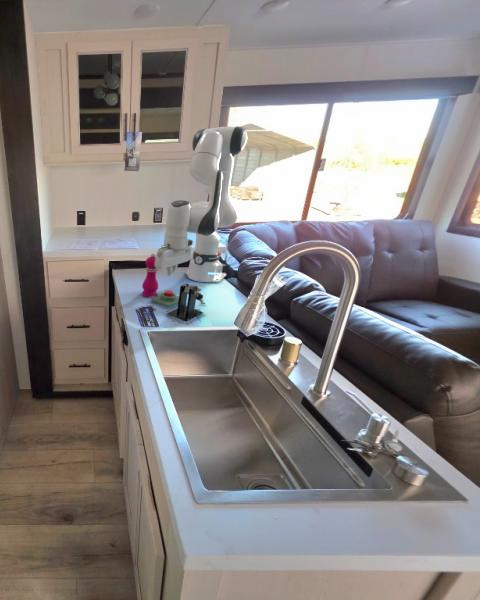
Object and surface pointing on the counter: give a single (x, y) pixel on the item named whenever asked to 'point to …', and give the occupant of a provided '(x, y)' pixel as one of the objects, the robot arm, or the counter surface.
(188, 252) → the robot arm
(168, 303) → the button box
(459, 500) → the counter surface
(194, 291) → the bracket
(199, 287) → the soupspoon
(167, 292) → the button
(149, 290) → the pepper mill
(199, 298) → the lever
